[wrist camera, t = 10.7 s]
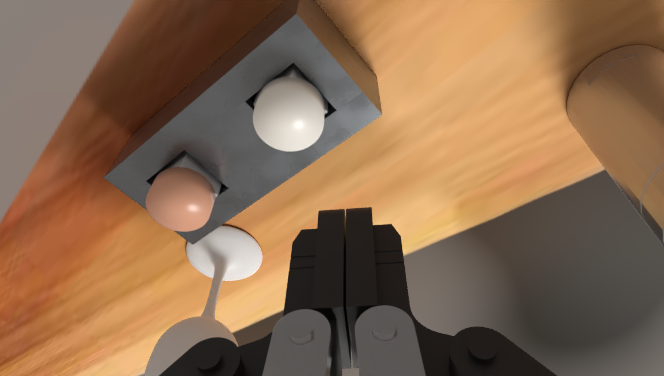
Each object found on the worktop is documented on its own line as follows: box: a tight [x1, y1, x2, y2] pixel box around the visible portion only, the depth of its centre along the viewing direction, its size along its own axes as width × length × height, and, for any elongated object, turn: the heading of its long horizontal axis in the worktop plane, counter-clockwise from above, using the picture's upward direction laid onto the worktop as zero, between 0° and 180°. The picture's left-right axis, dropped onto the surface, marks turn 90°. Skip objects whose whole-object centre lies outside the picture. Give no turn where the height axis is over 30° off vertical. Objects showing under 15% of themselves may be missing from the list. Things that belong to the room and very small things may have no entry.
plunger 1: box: [145, 150, 222, 232], centre depth 44 cm, size 5×5×7 cm
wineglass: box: [144, 226, 262, 376], centre depth 49 cm, size 9×9×21 cm
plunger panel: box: [104, 0, 382, 245], centre depth 44 cm, size 10×22×7 cm, turn 129°
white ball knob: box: [253, 63, 328, 152], centre depth 40 cm, size 5×5×7 cm
